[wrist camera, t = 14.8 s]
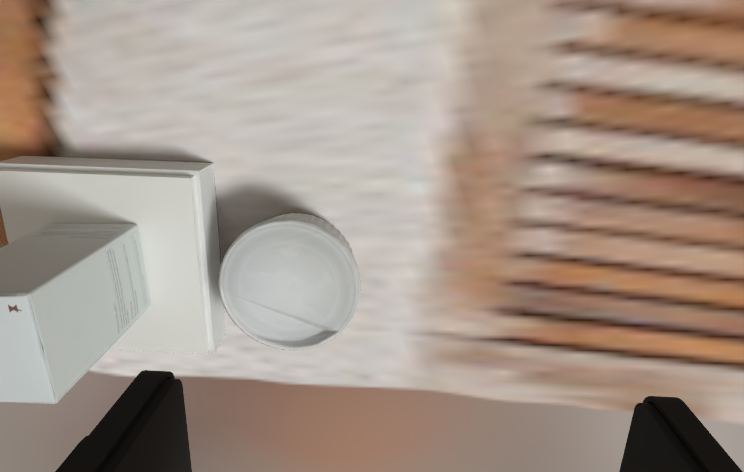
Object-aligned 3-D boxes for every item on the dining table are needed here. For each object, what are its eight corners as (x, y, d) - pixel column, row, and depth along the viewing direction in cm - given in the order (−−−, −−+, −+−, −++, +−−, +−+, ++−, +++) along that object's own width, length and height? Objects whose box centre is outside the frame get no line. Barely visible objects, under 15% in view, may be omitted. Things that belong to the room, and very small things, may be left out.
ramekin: (256, 329, 47) (240, 361, 42) (220, 215, 43) (198, 235, 38) (376, 309, 46) (373, 340, 41) (348, 190, 42) (342, 208, 37)
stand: (22, 155, 42) (-15, 164, 39) (213, 162, 42) (195, 173, 38) (55, 326, 48) (26, 349, 44) (225, 334, 47) (211, 358, 43)
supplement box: (47, 220, 40) (-102, 290, 28) (140, 222, 40) (30, 293, 28) (65, 306, 42) (-65, 403, 30) (153, 308, 42) (57, 407, 30)
